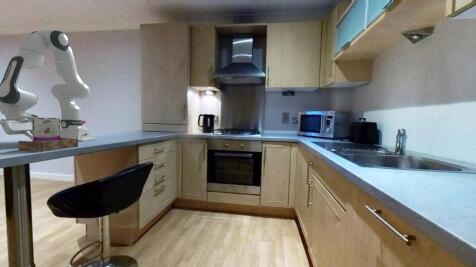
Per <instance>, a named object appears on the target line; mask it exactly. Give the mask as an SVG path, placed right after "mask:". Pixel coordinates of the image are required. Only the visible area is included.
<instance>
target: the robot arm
mask: <svg viewBox="0 0 476 267" xmlns="http://www.w3.org/2000/svg"><path fill="white" fill-rule="evenodd" d="M46 51H51V52H52V54H53V61H54V65H55V70H56V73H57V75H58V76H59V77H61V78H62V79H63V80H64V82H59V83H55V84H53V85H52V86H51V94H52V95H53V97H55V99H56V100H57V101H58V103H59V107H60V116H61V117H60V138H72V139H78V142H86V141H91V140H92V141H93V140H96V137H93V136H92V133H91V132H92V131H91V130H89V128H87V127H86V126H84V124H86V123H87V121H86V120H82V109H81V107H79V106H78V105H77V104H76V101H75V100H77V101H78V100H79V101H80V100H85V99H88V98H89V97H90V96H91V88H90V87H89V85H87V84H85V83H84V81H83V80H82V78H81V77H80V75H79V73H78V69H77V65H76V60H75V56H74V53H73V50H72V47H71V46H70V39H69V37H68V36H67V34H66V33H65V32H63V31H62V30H52V29H46V30H35V31H33V32H30V33H25V34H24V35H23V37H22V39H21V41H20V44H19V48H18V51H17V54H16V56H13V57H11V59H10V61H9V62H8V64H7V66H6V70H5V71H4V74H3V77H2V80H1V81H0V113H1V115H3V116H5V118H1V119H0V125H1V128H2V130H3V131H4V133H5V134H6V135H9V136H13V135H24V136H26V137H28V138H29V139H30V140H32V118H40V116H39V115H38V114H32V113H30V112H26V111H28V110H29V109H31V108H33V107H34V106H35V105H36V104H37V103H38V96H37V94H36V93H35V92H33V91H30V90H28V89H24V88H21V87H19V85H18V83H19V81H20V78H21V76H22V73H23V71H25V70H35V69H39V68H41V67H42V66H43V64H44V61H45V56H46Z"/></svg>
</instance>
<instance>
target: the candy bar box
mask: <svg viewBox="0 0 476 267" xmlns="http://www.w3.org/2000/svg"><path fill="white" fill-rule="evenodd" d="M60 121H61V117H39V118H32V139H31V141H32V142H48V141H58V140H60V131H61V125H60Z"/></svg>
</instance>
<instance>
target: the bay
mask: <svg viewBox="0 0 476 267" xmlns="http://www.w3.org/2000/svg"><path fill="white" fill-rule="evenodd" d="M78 147H79V141H78V139H72V138H60V140H58V141H48V142H32V140H30V141H29V140H18V151H25V150H28V152H38V151H39V152H48V151H56V150H64V149H72V148H78Z"/></svg>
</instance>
